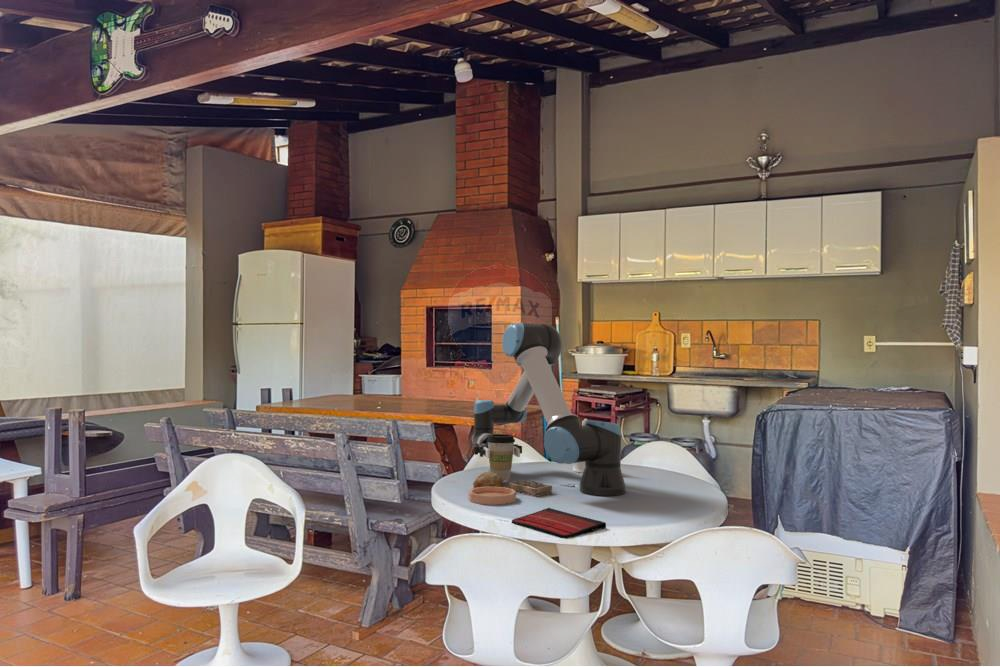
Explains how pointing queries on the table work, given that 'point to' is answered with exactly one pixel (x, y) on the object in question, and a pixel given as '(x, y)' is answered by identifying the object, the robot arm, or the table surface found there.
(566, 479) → the table surface
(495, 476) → the bread roll
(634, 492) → the table surface
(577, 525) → the binder
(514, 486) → the pebble tray
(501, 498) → the dish
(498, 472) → the coffee cup
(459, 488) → the table surface
